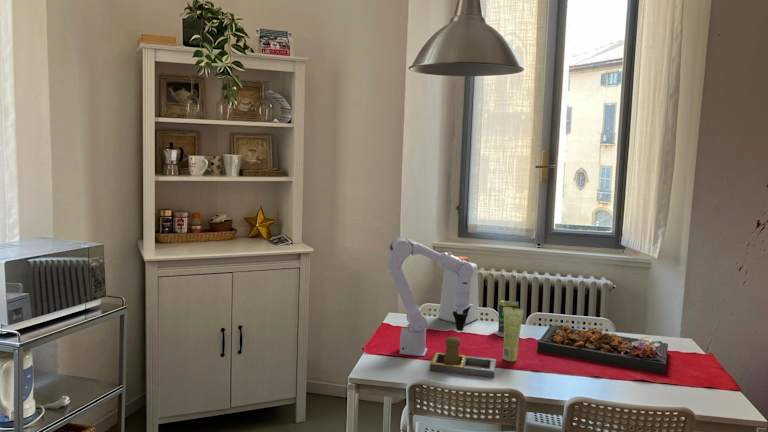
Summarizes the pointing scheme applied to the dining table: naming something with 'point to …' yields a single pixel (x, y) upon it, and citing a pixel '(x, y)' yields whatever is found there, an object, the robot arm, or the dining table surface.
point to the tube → (511, 332)
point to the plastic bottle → (449, 295)
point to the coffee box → (501, 314)
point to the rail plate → (464, 366)
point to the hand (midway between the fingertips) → (460, 327)
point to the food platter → (605, 348)
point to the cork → (452, 351)
